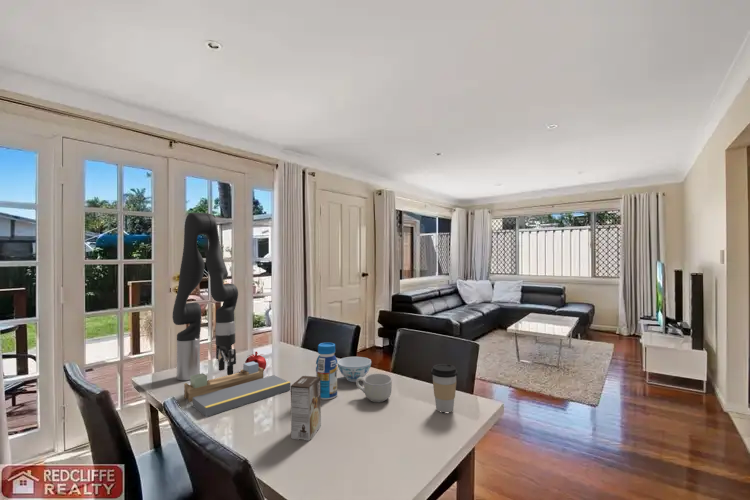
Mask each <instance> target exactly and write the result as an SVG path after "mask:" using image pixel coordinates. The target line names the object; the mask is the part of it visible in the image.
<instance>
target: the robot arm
mask: <svg viewBox="0 0 750 500" xmlns="http://www.w3.org/2000/svg"><path fill="white" fill-rule="evenodd" d="M183 232H184V233H183V251H182V256H181V257H182V258H181V262H180V267H179V268H180V269H179V277H178V278H179V279H178V287H177V292H176V296H175V300H174V305H173V308H172V321H173V324H175V325H176V326H183V325H188V326H187V327H186V328H184V329H183V330H181V331H179V332H178V333H177V334H176V380H178V381H190V376H193V375H197V374H201V337H200V336H201V329H202V327H201V326H202V307H201V304H200V303H198V302H188V299H189V298H190V295H191V294H192V293H193V291H195V289H197V287H198V286H199V284H200V283H201V282H202V281H203V278H204V273H205V266H206V269H207V273H208V275H209V277H210V278H209V284H210V285H209V286H210V288H209V289H210V295H211V297H212V300H214V301H215V302H217V303H222V302H223V303H222V304H221V306H220V307H218V308H217V309H216V310H215V330H214V331H215V333H214V334H215V335H214V336H215V359H216V360H217V362H218V371H220V372H221V371H224V370H225V365H226V374H227V375H232V374H234V365H236V364H237V355H236V354H237V353H236V352H237V351H236V348H233V347H232V346H233V345H234V344H235V343H236V322H235V310H236V306H237V302H238V298H239V290H238V287H237V286H236V285H235V284H234V283H225V284H224V279H226V278H227V277H229V272H228V269H227V266H226V264H225V260H224V258H223V253H222V249H221V242H220V234H219V230H218V224H217V221H216V218H215V217H214V215H213V214H211V213H205V212H190V213H189V214H187V215H186V217H185V221H184V228H183ZM202 235H205V236H206V238H207V240H208V248H207V251H206V255H205V260H204V258H203V257H202V254H201V252H200V251H199V248H198V238H199V237H198V236H202ZM227 375H226V376H227Z"/></svg>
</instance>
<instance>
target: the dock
mask: <svg viewBox="0 0 750 500" xmlns="http://www.w3.org/2000/svg"><path fill="white" fill-rule="evenodd" d="M288 391H291V381H287V380H286V379H283V378H281V377H279V376H278V375H275V374H273V375H270V376H266V377H263V378H262V379H258V380H254V381H251V382H247V383H243V384H240V385H236V386H233V387H229V388H225V389H222V390H218V391H214V392H211V393H207V394H204V395H200V396H196V397H193V401H192V407H194V408H195V409H196V410H197V411H198V412H200V413H201V414H202V416H204V417H205V418H207V417H211V416H213V415H214V416H215V415H216V414H219V413H222V412H227V411H229V410H233V409H236V408H239V407H242V406H245V405H248V404H251V403H255V402H258V401H261V400H264V399H267V398H270V397H273V396H275V395H276V396H277V395H281V394H282V393H285V392H288Z"/></svg>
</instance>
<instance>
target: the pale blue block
mask: <svg viewBox="0 0 750 500" xmlns="http://www.w3.org/2000/svg"><path fill="white" fill-rule="evenodd" d="M242 367H243V368H242V369H243V370H245V371H247V372H249V374H252V373H256V372H258V363H256V362H254V361H253V362H249V363H243V366H242Z"/></svg>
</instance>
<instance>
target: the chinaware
mask: <svg viewBox="0 0 750 500" xmlns="http://www.w3.org/2000/svg"><path fill="white" fill-rule="evenodd" d="M336 365H337V367H338V370H339V373H340V374H341V375H342V376H343V377H345V378H346V381H348V382H350V383H351V382H353V383H356V380H357V379H358V378H359V377H362V378H365V377H366V376H367V374H368V373H369V371H370V368H371V365H372V359H370V358H368V357H364V356H347V357H342V358H340V359H337V364H336ZM360 381H361V380H359V382H360Z"/></svg>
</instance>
